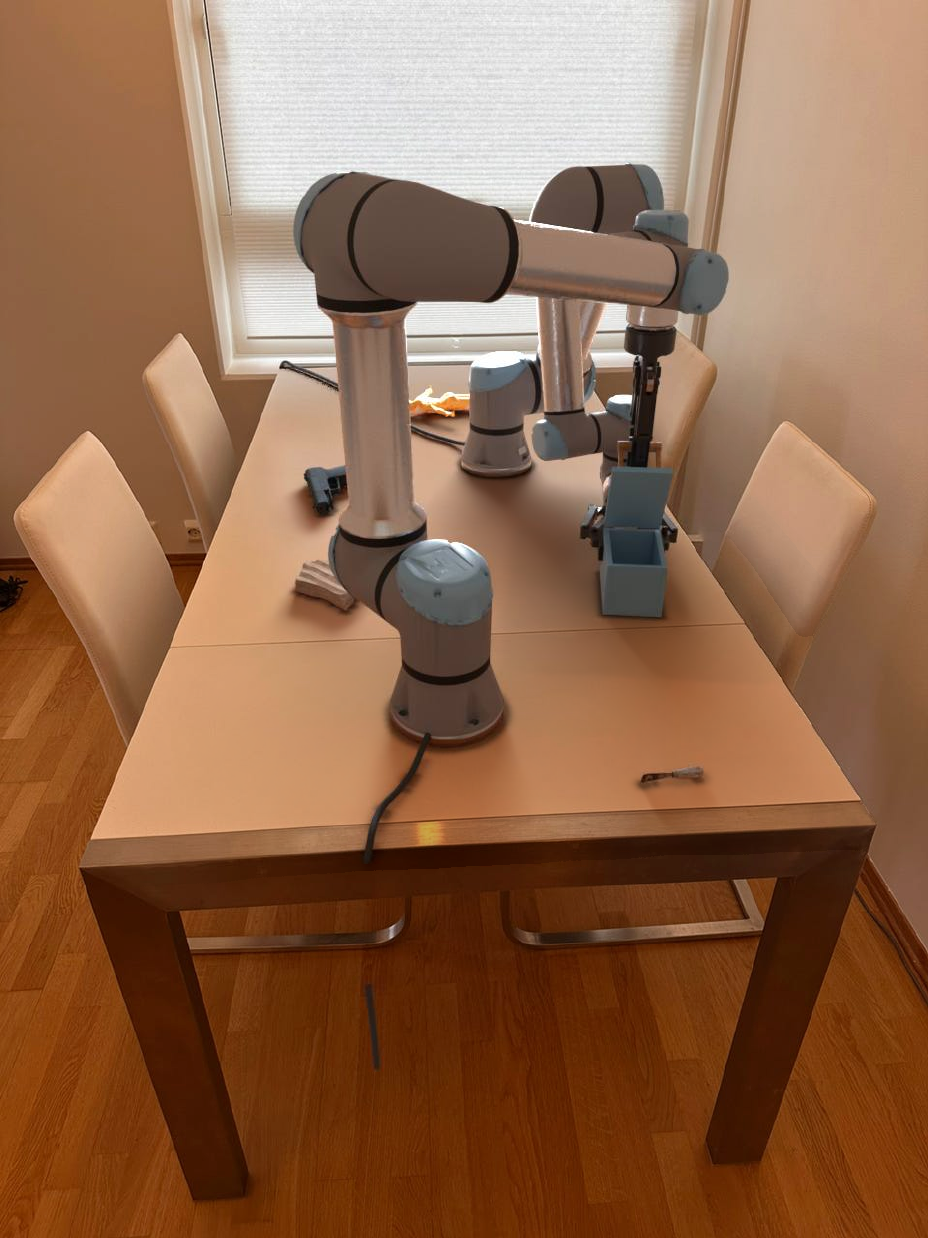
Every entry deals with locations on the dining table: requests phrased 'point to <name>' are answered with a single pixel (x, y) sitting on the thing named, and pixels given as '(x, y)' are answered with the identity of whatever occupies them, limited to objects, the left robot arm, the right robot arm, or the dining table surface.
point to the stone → (322, 584)
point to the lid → (637, 492)
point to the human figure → (440, 403)
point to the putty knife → (674, 774)
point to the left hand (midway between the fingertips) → (636, 471)
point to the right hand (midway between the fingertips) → (631, 554)
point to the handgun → (325, 486)
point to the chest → (633, 572)
